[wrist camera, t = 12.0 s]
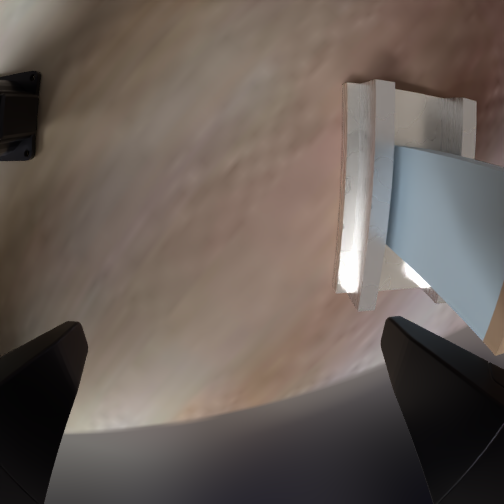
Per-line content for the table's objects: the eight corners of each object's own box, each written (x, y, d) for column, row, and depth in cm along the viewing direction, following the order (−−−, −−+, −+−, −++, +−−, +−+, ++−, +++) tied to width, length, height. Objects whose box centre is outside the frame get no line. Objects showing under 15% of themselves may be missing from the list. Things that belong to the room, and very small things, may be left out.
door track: (332, 286, 23) (345, 312, 20) (342, 84, 18) (362, 77, 15) (434, 280, 23) (456, 301, 20) (455, 103, 18) (484, 103, 15)
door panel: (382, 241, 21) (495, 355, 9) (390, 144, 18) (543, 185, 7) (418, 240, 21) (536, 341, 9) (428, 149, 18) (579, 193, 7)
